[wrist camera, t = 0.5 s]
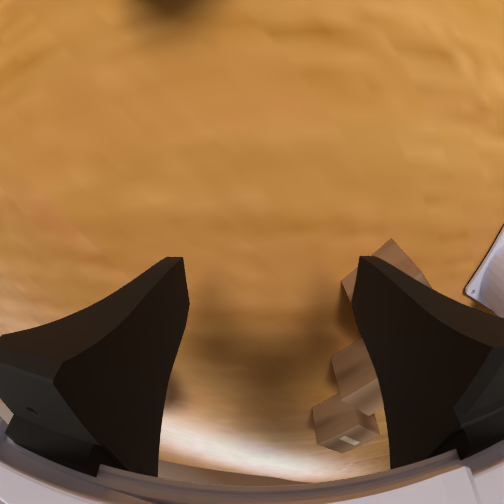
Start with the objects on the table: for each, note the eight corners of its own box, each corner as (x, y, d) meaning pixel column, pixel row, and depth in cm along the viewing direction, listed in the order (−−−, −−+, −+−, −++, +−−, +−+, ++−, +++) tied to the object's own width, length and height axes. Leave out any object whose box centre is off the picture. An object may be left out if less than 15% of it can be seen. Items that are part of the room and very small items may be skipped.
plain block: (397, 350, 25) (414, 388, 21) (357, 377, 27) (368, 415, 23) (374, 326, 24) (392, 367, 19) (330, 357, 25) (340, 399, 21)
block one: (370, 400, 29) (380, 435, 25) (336, 419, 31) (342, 453, 26) (348, 386, 28) (358, 425, 23) (311, 407, 29) (317, 444, 25)
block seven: (418, 277, 22) (447, 314, 17) (373, 314, 23) (393, 356, 19) (391, 237, 20) (422, 272, 15) (340, 280, 22) (359, 323, 17)
